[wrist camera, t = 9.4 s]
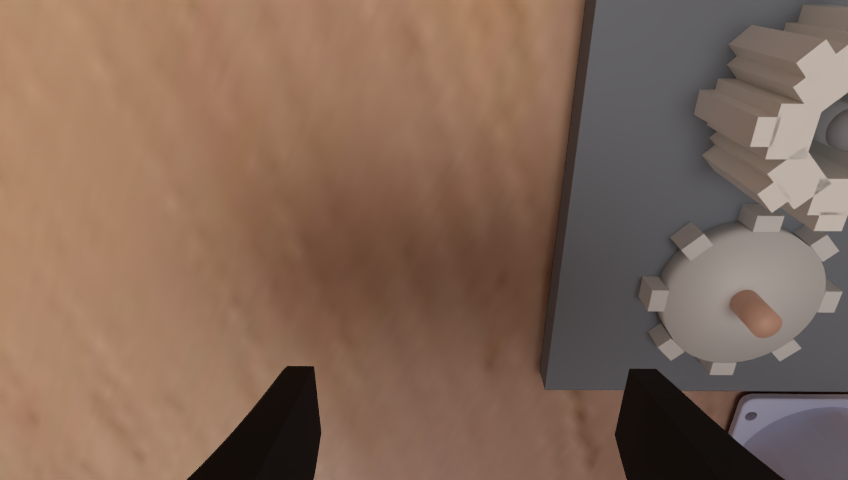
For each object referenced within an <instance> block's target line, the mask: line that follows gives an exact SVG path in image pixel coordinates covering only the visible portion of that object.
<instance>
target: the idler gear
mask: <svg viewBox="0 0 848 480" xmlns="http://www.w3.org/2000/svg"><path fill="white" fill-rule="evenodd" d="M728 45H729V46H730V48H731V49H732V51H733V52H734V53H735V55H736V56H737V57H735V58H734V59H733V60H732V61H731V62H729V63H728V64H727V66H728V67H729V69H730V70H731V71H732V73H733V74H734V75H735V77H736V78H718V80H717V84H716V88H715V90H699V94H698V98H697V103H696V107H695V112H694V115H695V116H697V117H699V118H701V119H702V120H704V121H706V122H707V126H709V127H711V128H712V129H714V130H716V131H717V132H716V133H714V134H713V135H712V136H711V137H709V138H710V140H711V141H712V142H713V143H714V146H713V147H712V148H710V149H709V150H708V151H706V152H705V153H704V154H703V155H702V156H703V157H704V159H705V160H706V161H707V162H708V164H709V165H710V166H711V167H712V169H713V170H714V171H715V172H716V173H718V174H719V175H720V176H722V177H723V178H725V179H726V180H727V181H729V182H730V183H731V184H733V185H734V186H736V187H737V188H738V189H740V190H741V191H742V192H744V193H745V194H747V195H748V196H749V197H751V198H752V199H753V200H755V201H756V202H758V203H759V204H760V205H762V206H763V207H764V208H766V209H767V210H769V211H770V212H771V213H772V212H774V211H775V210H777V209H778V208H781V209H783V210H784V211H786V212H787V213H788V214H790V215H791V216H793V217H794V218H796V219H797V220H799V221H800V222H801V223H803V224H804V225H806V226H807V227H809V228H810V229H811V230H813V231H842V229H843V226H844V224H845V221H846V219H847V216H848V151H839V150H836V149H833V148H831V147H829V146H826V145H824V144H822V143H820V142H818V141H816V140H813V136H814V133H815V130H816V127H817V124H818V121H819V118H820V115H821V112H822V111H824V110H825V109H826V108H828V107H829V106H830V105H832V104H833V103H834V102H836V101H837V100H840V101H843V102H846V103H848V6H839V5H815V4H803V6H802V9H801V13H800V16H799V19H798V22H786V24H785V28H784V31H782V30H776V29H771V28H766V27H761V26H756V25H751V26H749V27H748V28H747V29H746V30H745V31H743V32H742V33H741V34H740V35H739V36H738V37H736V38H735V39H734V40H733V41H732V42H730V43H729V44H728Z"/></svg>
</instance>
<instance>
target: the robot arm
mask: <svg viewBox="0 0 848 480" xmlns="http://www.w3.org/2000/svg"><path fill="white" fill-rule="evenodd" d="M749 412H750V413H749ZM747 413H748V414H747ZM320 437H321V426H320V417H319V408H318V399H317V390H316V381H315V372H314V366H287V367H286V368H285V369H284V370H283V371H282V372H281V373H280V375H279V376H278V377H277V379H276V380H275V381H274V383H273V384H272V385H271V386H270V388H269V389H268V390H267V391H266V393H265V394H264V395H263V397H262V398H261V399H260V400H259V401H258V403H257V404H256V405H255V406H254V408H253V409H252V410H251V411H250V412H249V414H248V415H247V416H246V417H245V418H244V419H243V421H242V422H241V423H240V424H239V425H238V426H237V428H236V429H235V430H234V431H233V432H232V433H231V434H230V436H229V437H228V438H227V439H226V440H225V441H224V442H223V443H222V444H221V445H220V446H219V447H218V448H217V449H216V450H215V452H214V453H213V454H212V455H211V456H210V457H209V458H208V459H207V460H206V461H205V462H204V463H203V464H202V465H201V466H200V467H199V468H198V469H197V470H196V471H195V472H194V473H193V474H192V475H191V476H190V477H189V478H188V479H187V480H313V479H314V475H315V469H316V463H317V457H318V450H319V444H320ZM615 437H616V441H617V445H618V449H619V453H620V457H621V460H622V464H623V467H624V471H625V475H626V478H627V480H848V394H748V395H745V396H743V397H742V398H741V399H740V401H739V403H738V406H737V409H736V411H735V414H734V417H733V420H732V423H731V426H730V429H729V432H728V433H727V432H726V431H725V430H723V429H722V428H721V427H720V426H719V425H718V424H717V423H715V422H714V421H713V420H712V419H711V418H710V417H709V416H708V415H706V414H705V413H704V412H703V411H702V410H701V409H700V408H699V407H698V406H697V405H695V404H694V403H693V402H692V401H691V400H690V399H689V398H688V397H687V396H686V395H685V394H683V393H682V392H681V391H680V390H679V389H678V388H677V387H676V386H675V385H674V384H673V383H672V382H670V381H669V380H668V379H667V378H666V377H665V376H664V375H663V374H662V373H660V372H659V371H658V370H657V369H629V372H628V377H627V381H626V386H625V390H624V395H623V400H622V404H621V409H620V413H619V418H618V423H617V427H616V432H615Z"/></svg>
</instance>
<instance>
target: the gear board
mask: <svg viewBox="0 0 848 480" xmlns="http://www.w3.org/2000/svg"><path fill="white" fill-rule="evenodd" d="M803 4H815V5H839V6H848V0H586V3H585V11H584V19H583V27H582V35H581V43H580V51H579V59H578V67H577V75H576V83H575V91H574V99H573V107H572V115H571V123H570V131H569V139H568V147H567V156H566V164H565V172H564V180H563V188H562V196H561V204H560V212H559V220H558V228H557V236H556V244H555V252H554V260H553V268H552V276H551V284H550V292H549V300H548V308H547V316H546V324H545V332H544V340H543V348H542V356H541V364H540V374H541V377H542V381H543V385H544V388H545V390H625V386H626V381H627V377H628V372H629V369H657V370H658V371H659V372H660V373H662V374H663V375H664V376H665V377H666V378H667V379H668V380H669V381H670V382H672V383H673V384H674V385H675V386H676V387H677V388H678V389H679V390H680V391H804V392H848V216H847V219H846V221H845V224H844V226H843V229H842V231H813V230H811V229H810V228H809V227H807V226H806V225H804V224H803V223H801V222H800V221H799V220H797V219H796V218H794V217H793V216H791V215H790V214H788V213H787V212H786V211H784V210H783V209H781V208H778V209H777V210H775V211H774V212H772V213H771V212H770V211H769V210H767V209H766V208H764V207H763V206H762V205H760V204H759V203H758V202H756V201H755V200H753V199H752V198H751V197H749V196H748V195H747V194H745V193H744V192H742V191H741V190H740V189H738V188H737V187H736V186H734V185H733V184H731V183H730V182H729V181H727V180H726V179H725V178H723V177H722V176H720V175H719V174H718V173H716V172H715V171H714V170H713V169H712V167H711V166H710V165H709V164H708V162H707V161H706V160H705V159H704V157H703V156H702V155H703V154H704V153H705V152H706V151H708V150H709V149H710V148H712V147H713V146H714V143H713V142H712V141H711V140H710V138H709V137H711V136H712V135H713V134H714V133H716V132H717V131H716V130H714V129H712V128H711V127H709V126H707V122H706V121H704V120H702V119H701V118H699V117H697V116H695V115H694V112H695V107H696V103H697V98H698V94H699V90H715V88H716V84H717V80H718V78H736V77H735V75H734V74H733V73H732V71H731V70H730V69H729V67H728V66H727V64H728V63H729V62H731V61H732V60H733V59H734V58H735V57H737V56H736V55H735V53H734V52H733V51H732V49H731V48H730V46H729V45H728V44H729V43H730V42H732V41H733V40H734V39H735V38H736V37H738V36H739V35H740V34H741V33H742V32H743V31H745V30H746V29H747V28H748V27H749V26H751V25H756V26H761V27H766V28H771V29H776V30H782V31H784V28H785V24H786V22H798V19H799V16H800V13H801V9H802V6H803ZM813 140H816V141H818V142H820V143H822V144H824V145H826V146H829V147H831V148H833V149H836V150H839V151H848V103H846V102H843V101H840V100H837V101H836V102H834V103H833V104H832V105H830V106H829V107H828V108H826V109H825V110H824V111H822V112H821V115H820V118H819V121H818V124H817V127H816V130H815V133H814V136H813Z"/></svg>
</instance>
